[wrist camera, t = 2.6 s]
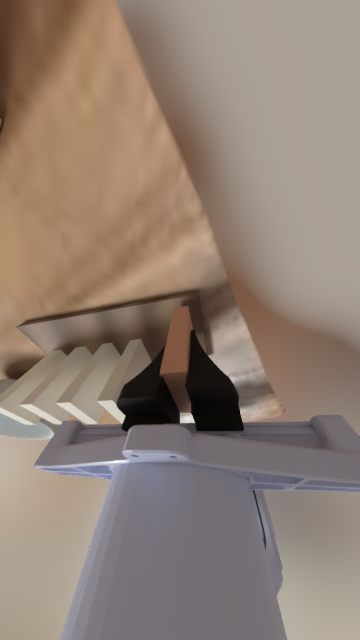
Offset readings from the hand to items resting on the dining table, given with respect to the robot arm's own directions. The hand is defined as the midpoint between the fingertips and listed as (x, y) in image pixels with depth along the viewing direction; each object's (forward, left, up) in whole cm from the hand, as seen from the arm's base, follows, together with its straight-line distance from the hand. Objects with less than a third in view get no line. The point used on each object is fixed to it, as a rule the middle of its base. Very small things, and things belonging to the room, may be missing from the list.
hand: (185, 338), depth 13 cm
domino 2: (-8, +15, -3) cm, 17 cm away
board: (-5, +10, -4) cm, 12 cm away
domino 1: (-9, +19, -3) cm, 22 cm away
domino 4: (-6, +6, -3) cm, 9 cm away
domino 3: (-7, +11, -3) cm, 13 cm away
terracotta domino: (0, 0, -2) cm, 2 cm away
